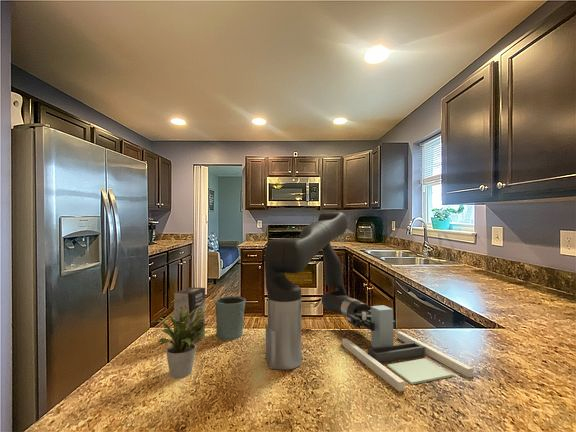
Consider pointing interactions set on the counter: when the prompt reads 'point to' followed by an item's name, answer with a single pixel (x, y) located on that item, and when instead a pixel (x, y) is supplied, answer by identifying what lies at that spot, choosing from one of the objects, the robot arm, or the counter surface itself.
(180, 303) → the coffee box
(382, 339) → the grey tall block
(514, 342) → the counter surface
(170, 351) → the house plant
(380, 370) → the lane rails
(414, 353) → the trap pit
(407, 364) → the pad
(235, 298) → the teal cup
